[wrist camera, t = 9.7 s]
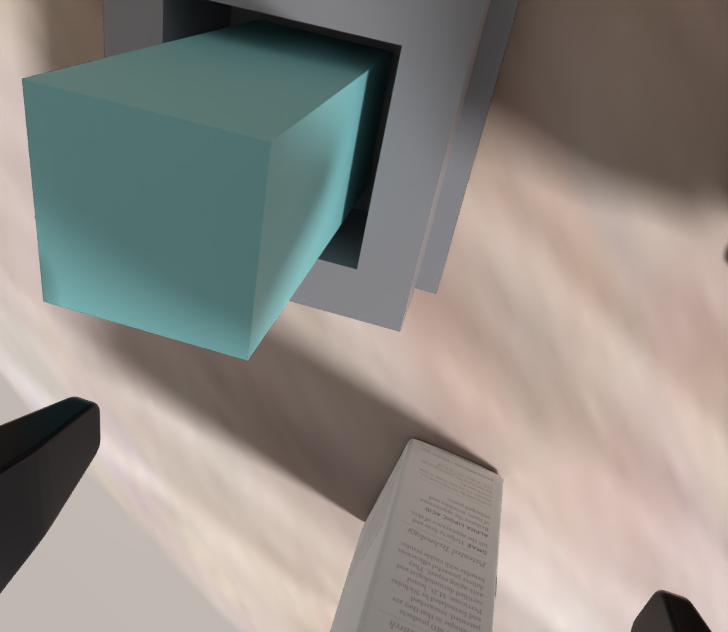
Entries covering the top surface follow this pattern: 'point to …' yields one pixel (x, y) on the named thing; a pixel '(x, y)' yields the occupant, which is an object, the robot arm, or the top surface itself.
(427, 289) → the socket block
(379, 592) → the skincare box
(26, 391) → the top surface
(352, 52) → the teal peg
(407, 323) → the top surface
